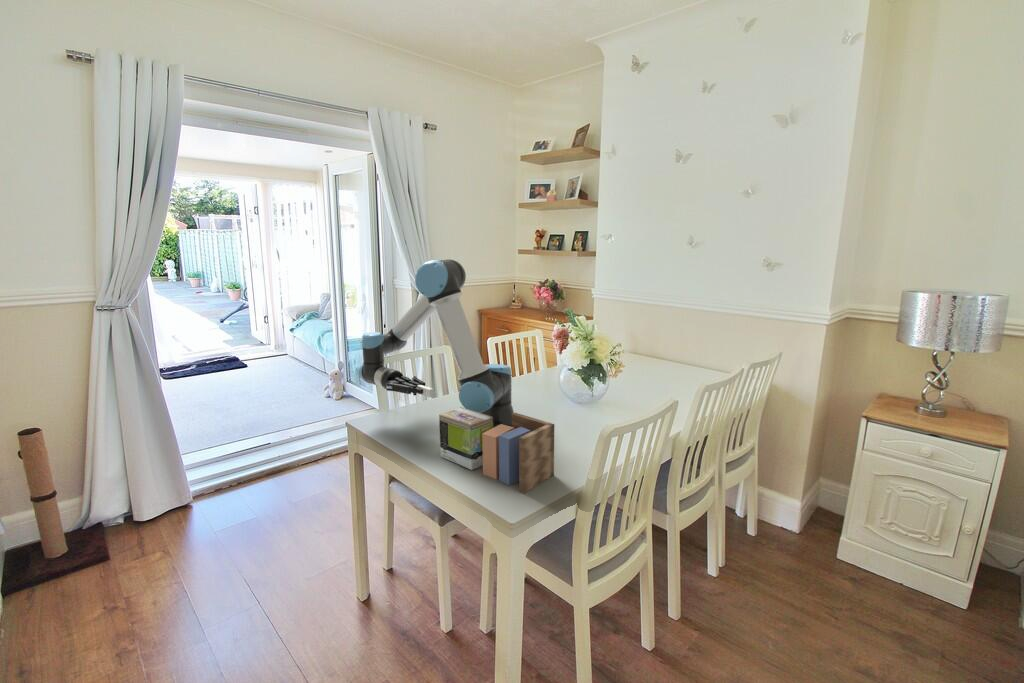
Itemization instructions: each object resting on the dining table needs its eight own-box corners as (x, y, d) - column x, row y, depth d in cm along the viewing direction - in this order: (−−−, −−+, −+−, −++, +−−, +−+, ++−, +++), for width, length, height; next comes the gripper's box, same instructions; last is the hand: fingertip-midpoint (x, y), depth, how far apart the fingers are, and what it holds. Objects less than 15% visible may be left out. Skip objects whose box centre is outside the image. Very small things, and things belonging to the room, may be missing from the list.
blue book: (520, 470, 144) (520, 426, 141) (530, 474, 141) (530, 430, 138) (499, 480, 138) (498, 435, 135) (509, 485, 135) (508, 439, 132)
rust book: (501, 463, 149) (500, 424, 146) (514, 467, 146) (514, 427, 143) (483, 474, 141) (482, 433, 139) (496, 479, 139) (495, 437, 136)
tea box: (494, 460, 151) (493, 416, 148) (471, 471, 143) (470, 425, 140) (462, 447, 160) (461, 405, 158) (439, 457, 153) (437, 413, 150)
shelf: (515, 460, 150) (515, 412, 147) (553, 475, 141) (554, 424, 137) (484, 476, 140) (483, 425, 137) (523, 493, 130) (523, 439, 127)
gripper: (404, 385, 179) (446, 399, 164) (374, 393, 169) (415, 408, 154) (403, 365, 177) (445, 378, 162) (373, 372, 168) (415, 386, 153)
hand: (431, 393), depth 158 cm, fingers closed
